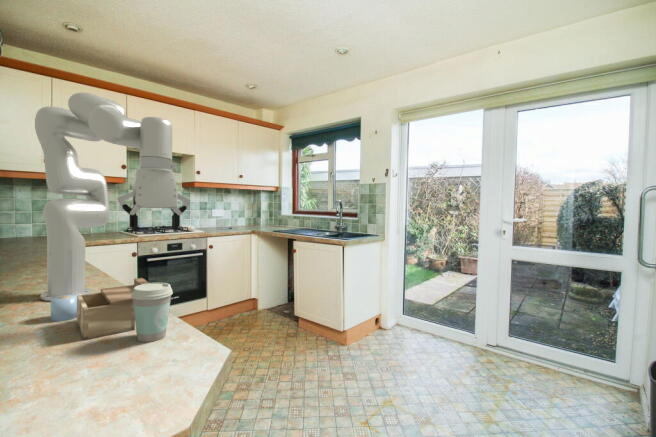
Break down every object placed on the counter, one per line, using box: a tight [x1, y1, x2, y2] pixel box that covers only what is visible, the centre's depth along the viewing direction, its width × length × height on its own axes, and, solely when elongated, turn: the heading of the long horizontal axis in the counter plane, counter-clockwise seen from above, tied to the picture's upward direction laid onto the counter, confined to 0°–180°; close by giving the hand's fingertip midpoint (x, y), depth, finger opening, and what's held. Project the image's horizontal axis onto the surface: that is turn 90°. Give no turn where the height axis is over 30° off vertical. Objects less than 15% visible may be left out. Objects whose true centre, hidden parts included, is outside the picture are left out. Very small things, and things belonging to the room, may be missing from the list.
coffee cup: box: [131, 282, 174, 343], centre depth 74 cm, size 8×8×12 cm
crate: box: [76, 291, 136, 341], centre depth 79 cm, size 14×10×7 cm
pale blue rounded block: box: [50, 295, 77, 323], centre depth 84 cm, size 6×6×6 cm
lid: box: [100, 277, 150, 305], centre depth 82 cm, size 14×10×3 cm
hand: (155, 230), depth 84 cm, fingers open, 9 cm apart
